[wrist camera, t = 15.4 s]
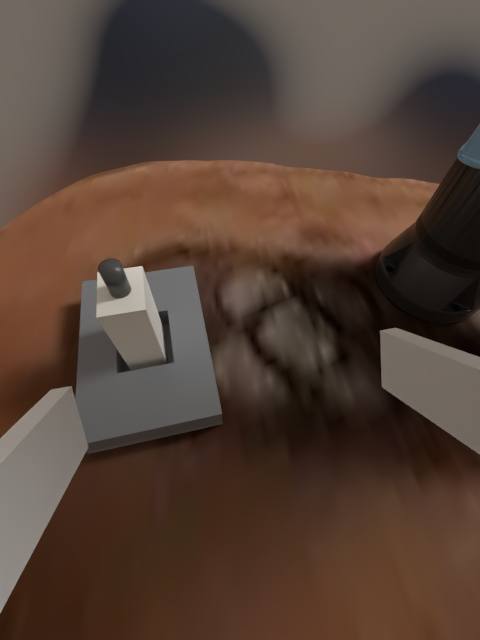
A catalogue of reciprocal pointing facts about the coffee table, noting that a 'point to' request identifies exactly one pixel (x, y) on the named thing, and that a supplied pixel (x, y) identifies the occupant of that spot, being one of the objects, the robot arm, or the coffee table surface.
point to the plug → (130, 315)
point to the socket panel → (147, 371)
